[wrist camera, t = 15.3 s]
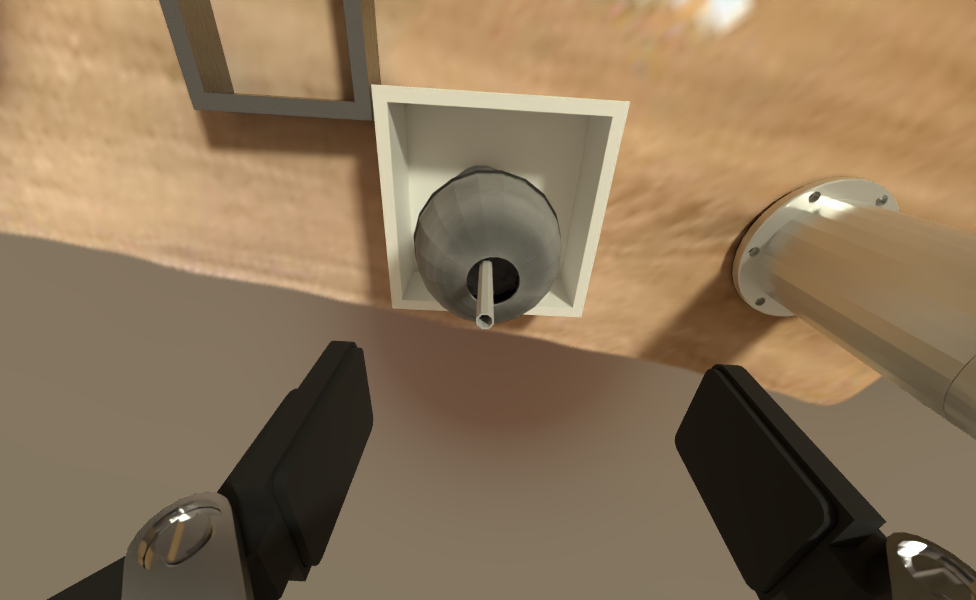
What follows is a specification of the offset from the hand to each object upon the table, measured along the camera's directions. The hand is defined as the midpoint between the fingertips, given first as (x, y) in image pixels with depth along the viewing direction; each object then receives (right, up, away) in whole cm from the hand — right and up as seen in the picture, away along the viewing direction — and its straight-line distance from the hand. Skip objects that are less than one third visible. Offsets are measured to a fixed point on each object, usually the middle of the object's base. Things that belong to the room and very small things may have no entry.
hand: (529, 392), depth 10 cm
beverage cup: (-2, +11, +18) cm, 21 cm away
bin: (-1, +11, +19) cm, 22 cm away
